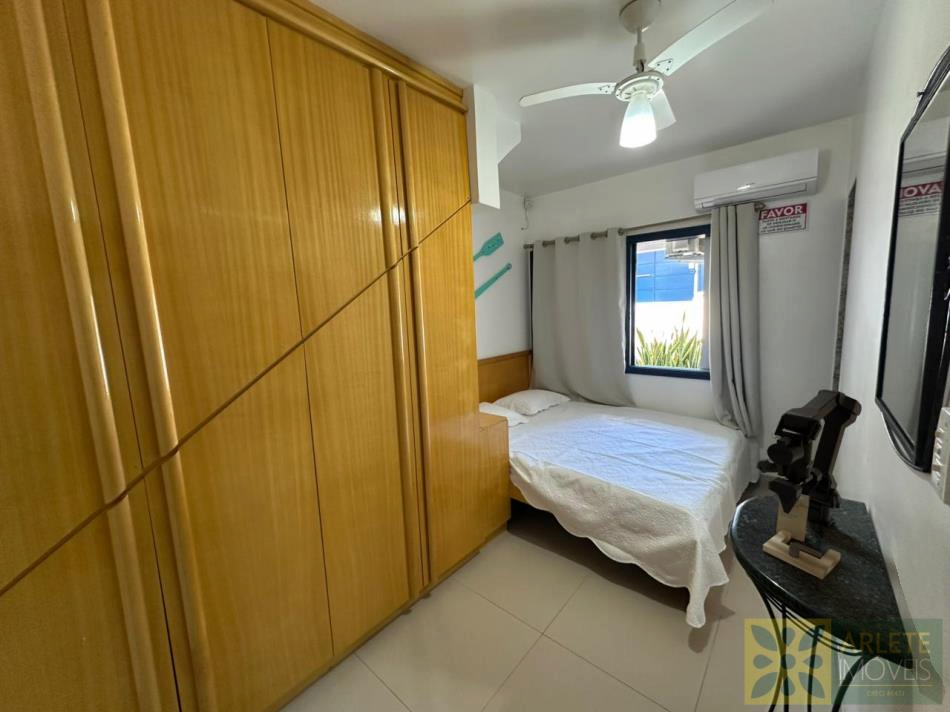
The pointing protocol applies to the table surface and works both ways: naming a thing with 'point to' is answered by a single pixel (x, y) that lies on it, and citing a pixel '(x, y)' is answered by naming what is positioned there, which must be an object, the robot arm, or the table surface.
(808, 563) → the beige c-shaped bracket
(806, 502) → the skincare box
